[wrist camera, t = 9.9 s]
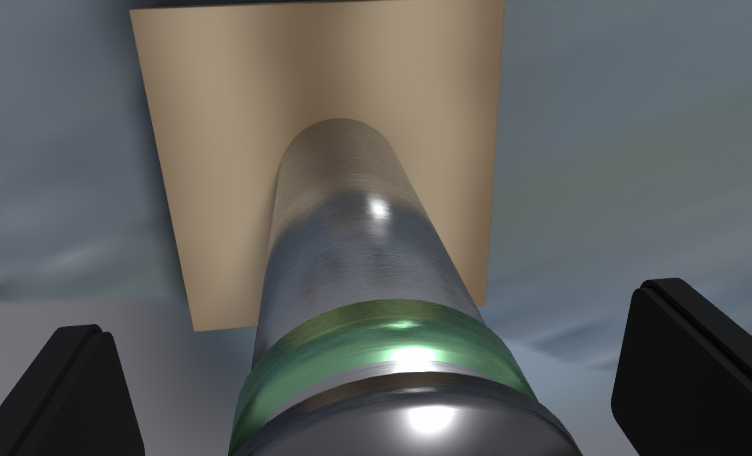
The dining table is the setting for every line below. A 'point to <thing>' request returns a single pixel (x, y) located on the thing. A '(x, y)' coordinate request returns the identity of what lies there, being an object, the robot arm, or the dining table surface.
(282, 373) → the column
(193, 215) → the tan flat square block
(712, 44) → the dining table surface
